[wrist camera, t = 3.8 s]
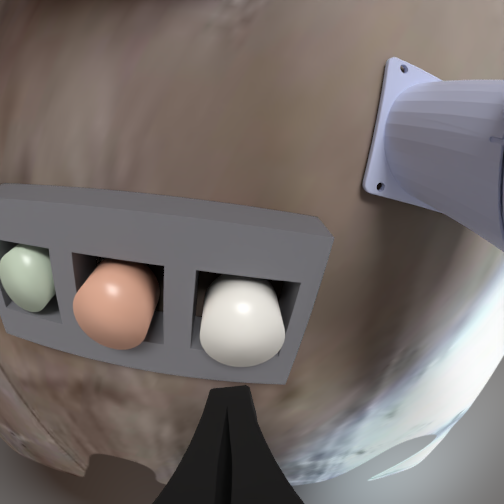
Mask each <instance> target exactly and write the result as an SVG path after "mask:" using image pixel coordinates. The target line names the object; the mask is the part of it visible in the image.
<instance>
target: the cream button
mask: <svg viewBox="0 0 504 504" xmlns="http://www.w3.org/2000/svg"><path fill="white" fill-rule="evenodd" d="M284 340H285V329H284V325H283V320H282V316H281V312H280V307H279V303H278V299H277V295H276V291H275V289H274V287H273V286H272V284H271V283H270V282H269V281H268V280H267V279H263V278H255V277H246V276H238V275H230V274H223V275H221V276H219V277H218V278H216V279H215V280H214V281H213V282H212V283H211V284H210V286H209V287H208V289H207V291H206V294H205V299H204V306H203V313H202V321H201V328H200V342H201V345H202V347H203V349H204V350H205V352H206V353H207V354H208V355H209V356H210V357H212V358H213V359H214V360H216V361H218V362H220V363H222V364H225V365H229V366H234V367H249V366H254V365H258V364H261V363H263V362H266V361H267V360H269V359H271V358H272V357H273V356H275V355H276V354H277V353H278V351H279V350H280V349H281V347H282V345H283V343H284Z"/></svg>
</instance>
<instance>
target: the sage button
mask: <svg viewBox="0 0 504 504" xmlns="http://www.w3.org/2000/svg"><path fill="white" fill-rule="evenodd" d="M0 279H1V282H2V285H3V287H4V289H5V291H6V293H7V294H8V296H9V297H10V298H11V299H12V300H13V301H14V302H15V303H16V304H17V305H18V306H19V307H21V308H22V309H24V310H27V311H30V312H38V311H41V310H42V309H43V308H44V307H45V306H46V305H47V303H48V302H49V301H50V300H51V298H52V297H53V296H54V295H55V294H56V291H55V286H54V280H53V275H52V268H51V262H50V255H49V248H43V247H37V246H31V245H26V244H20V243H19V244H18V245H17V246H15V247H14V248H13V249H11V250H10V251H9V252H8V253H6V254H5V255H4V256H3V257H2V259H1V261H0Z"/></svg>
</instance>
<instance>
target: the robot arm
mask: <svg viewBox="0 0 504 504" xmlns="http://www.w3.org/2000/svg"><path fill="white" fill-rule="evenodd" d="M400 66H402V67H403V68H404V73H403V72H402V71H401V70H400ZM378 183H381V184H382V187H381V189H379V190H377V185H378ZM363 188H364V190H365V191H366V192H368V193H370V194H374V195H378V196H382V197H386V198H390V199H394V200H398V201H401V202H405V203H409V204H412V205H416V206H420V207H423V208H427V209H430V210H433V211H437V212H440V213H443V214H445V215H447V216H449V217H450V218H452V219H454V220H455V221H457V222H459V223H460V224H462V225H464V226H465V227H467V228H468V229H470V230H472V231H473V232H475V233H476V234H478V235H479V236H481V237H482V238H484V239H486V240H487V241H489V242H490V243H492V244H493V245H495V246H496V247H497V248H499V249H500V250H502V251H503V252H504V80H453V81H442V80H440V79H439V78H437V77H435V76H433V75H431V74H429V73H427V72H425V71H423V70H422V69H420V68H418V67H415V66H413V65H411V64H409V63H407V62H405V61H403V60H401V59H398V58H395V57H393V58H389V59H388V60H387V62H386V66H385V73H384V80H383V86H382V92H381V98H380V103H379V109H378V114H377V120H376V125H375V130H374V134H373V139H372V144H371V149H370V153H369V157H368V162H367V166H366V170H365V174H364V179H363ZM153 504H304V503H303V501H302V500H301V499H300V497H299V496H298V495H297V494H296V492H295V491H294V489H293V488H292V486H291V485H290V483H289V482H288V480H287V479H286V477H285V476H284V474H283V473H282V471H281V469H280V468H279V466H278V464H277V462H276V461H275V459H274V457H273V455H272V453H271V451H270V449H269V447H268V445H267V443H266V441H265V439H264V437H263V434H262V432H261V430H260V427H259V425H258V422H257V416H256V411H255V407H254V403H253V399H252V395H251V391H250V387H248V386H246V385H244V386H235V387H225V388H214V389H211V390H210V392H209V396H208V399H207V402H206V405H205V408H204V411H203V414H202V417H201V419H200V422H199V424H198V427H197V429H196V431H195V434H194V436H193V438H192V440H191V443H190V445H189V447H188V449H187V451H186V453H185V455H184V456H183V458H182V460H181V462H180V464H179V466H178V467H177V469H176V471H175V472H174V474H173V476H172V477H171V479H170V480H169V482H168V483H167V485H166V486H165V488H164V489H163V491H162V492H161V493H160V495H159V496H158V497H157V498H156V500H155V501H154V502H153Z"/></svg>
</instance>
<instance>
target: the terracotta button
mask: <svg viewBox="0 0 504 504" xmlns="http://www.w3.org/2000/svg"><path fill="white" fill-rule="evenodd" d="M159 296H160V288H159V283H158V280H157V278H156V276H155V275H154V273H153V272H152V270H151V269H150V268H149V267H148V266H147V265H146V264H145V263H140V262H133V261H126V260H119V259H112V258H105V259H104V260H102V261H101V262H100V264H99V265H98V266H97V267H96V268H95V270H94V271H93V272H92V274H91V275H90V276H89V277H88V279H87V280H86V281H85V283H84V284H83V285H82V286H81V288H80V289H79V290H78V292H77V293H76V295H75V297H74V300H73V312H74V316H75V318H76V321H77V322H78V324H79V326H80V327H81V329H82V330H83V331H84V332H85V333H86V334H87V335H88V336H89V337H90V338H91V339H93V340H94V341H96V342H97V343H99V344H101V345H103V346H105V347H108V348H112V349H117V350H126V349H131V348H134V347H136V346H138V345H139V344H141V342H142V341H143V340H144V339H145V337H146V334H147V331H148V328H149V325H150V323H151V320H152V317H153V314H154V311H155V308H156V306H157V303H158V300H159Z"/></svg>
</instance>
